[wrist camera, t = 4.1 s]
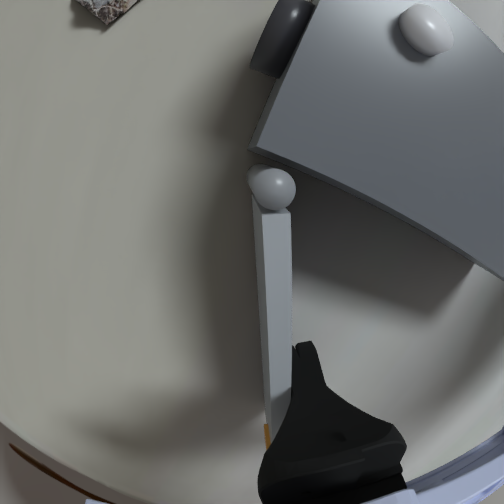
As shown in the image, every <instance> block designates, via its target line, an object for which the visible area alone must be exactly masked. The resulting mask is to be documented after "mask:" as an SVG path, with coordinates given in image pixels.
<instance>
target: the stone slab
mask: <svg viewBox="0 0 504 504" xmlns="http://www.w3.org/2000/svg"><path fill="white" fill-rule="evenodd" d="M76 1H78V2H79V3H80V4H82V5H83V6H84V7H85V8H87V9H88V10H89V11H90V12H92V13H93V14H94V15H95V16H97V17H98V18H99V19H100V20H102V21H103V22H104V23H105V24H107V25H108V24H109V23H110V22H112V21H113V20H115V19H116V18H117V17H118V16H119V15H120V13H121V14H123V13H125V12H126V11H127V10H128V9H129V8H130V7H131V6H132V5H133V4H134V3H135V2H136V1H137V0H76Z"/></svg>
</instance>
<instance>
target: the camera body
mask: <svg viewBox="0 0 504 504" xmlns="http://www.w3.org/2000/svg"><path fill="white" fill-rule="evenodd" d="M250 68H251V69H254V70H256V71H259V72H262V73H264V74H267V75H270V76H272V77H275V78H277V79H276V82H275V84H274V86H273V89H272V91H271V93H270V96H269V98H268V100H267V103H266V105H265V107H264V110H263V112H262V114H261V117H260V119H259V122H258V124H257V127H256V129H255V131H254V134H253V136H252V139H251V141H250V144H249V146H248V149H247V150H249V151H252V152H255V153H257V154H260V155H262V156H265V157H267V158H270V159H272V160H275V161H277V162H280V163H282V164H285V165H287V166H290V167H292V168H294V169H297V170H299V171H301V172H304V173H306V174H308V175H311V176H313V177H315V178H317V179H320V180H322V181H324V182H326V183H328V184H331V185H333V186H335V187H337V188H339V189H341V190H344V191H346V192H348V193H350V194H352V195H354V196H356V197H358V198H360V199H362V200H364V201H366V202H368V203H370V204H372V205H374V206H376V207H378V208H380V209H382V210H384V211H386V212H388V213H390V214H391V215H393V216H395V217H397V218H399V219H401V220H403V221H405V222H406V223H408V224H410V225H412V226H414V227H415V228H417V229H419V230H421V231H422V232H424V233H426V234H428V235H429V236H431V237H433V238H435V239H436V240H438V241H440V242H441V243H443V244H445V245H446V246H448V247H450V248H451V249H453V250H455V251H456V252H458V253H459V254H461V255H463V256H464V257H466V258H467V259H469V260H470V261H472V262H473V263H475V264H477V265H478V266H480V267H482V268H483V269H485V270H487V271H488V272H490V273H492V274H493V275H495V276H496V277H498V278H500V279H501V280H503V281H504V53H503V52H502V51H501V50H500V49H499V48H498V47H497V46H496V44H495V43H494V42H493V41H492V40H491V39H490V38H489V37H488V36H487V35H486V34H485V33H484V32H483V31H482V30H481V29H480V28H479V27H478V26H477V25H476V24H475V23H474V22H473V21H472V20H471V19H469V18H468V17H467V16H466V15H465V14H464V13H463V12H462V11H461V10H459V9H458V8H457V7H456V6H455V5H454V4H452V3H451V2H450V1H449V0H313V1H312V3H310V2H308V1H305V0H279V1H278V2H277V4H276V6H275V8H274V10H273V12H272V14H271V16H270V18H269V20H268V22H267V24H266V26H265V28H264V30H263V33H262V35H261V37H260V40H259V42H258V44H257V47H256V49H255V52H254V55H253V58H252V61H251V64H250Z"/></svg>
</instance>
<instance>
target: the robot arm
mask: <svg viewBox="0 0 504 504" xmlns="http://www.w3.org/2000/svg"><path fill="white" fill-rule="evenodd" d="M295 348H296V349H295ZM295 348H294V346H293V345H292V373H291V401H290V404H289V407H288V410H287V412H286V415H285V418H284V420H283V422H282V424H281V426H280V428H279V430H278V432H277V434H276V436H275V438H274V440H273V441H272V443H271V445H270V446H269V448H268V449H267V451H266V452H265V454H264V457H263V460H262V463H261V467H260V470H259V474H258V493H259V497H260V499H261V501H262V504H478V503H479V502H481V501H482V500H484V499H485V498H486V497H487V496H489V495H490V494H492V493H493V492H494V491H496V490H497V489H498V488H500V487H501V486H502V485H504V426H503V428H502V430H500V431H499V432H498V433H496V434H495V435H493V436H492V437H490V438H489V439H487V440H486V441H484V442H483V443H481V444H480V445H478V446H476V447H475V448H473V449H471V450H470V451H468V452H466V453H465V454H463V455H461V456H459V457H458V458H456V459H454V460H452V461H450V462H449V463H447V464H445V465H443V466H441V467H439V468H437V469H435V470H433V471H431V472H429V473H427V474H424V475H422V476H420V477H418V478H415V479H413V480H411V481H408V482H406V483H405V481H404V478H403V476H402V474H401V473H402V472H403V469H402V467H401V464H400V461H401V459H402V457H403V455H404V453H405V451H406V448H407V445H406V443H405V441H404V439H403V437H402V435H401V434H400V433H399V431H398V430H397V429H396V427H395V426H394V425H393V424H391V423H388V422H385V421H383V420H380V419H378V418H375V417H373V416H371V415H369V414H367V413H365V412H363V411H361V410H360V409H358V408H356V407H355V406H353V405H351V404H350V403H348V402H347V401H345V400H344V399H342V398H341V397H340V396H338V395H337V394H336V393H334V392H333V391H332V390H331V389H330V388H328V387H327V386H326V383H325V380H324V376H323V373H322V369H321V365H320V361H319V358H318V354H317V351H316V348H315V346H314V345H313V343H312V341H307V342H302V343H297V345H296V346H295ZM85 504H108V503H104V502H100V501H95V500H91V499H86V502H85Z"/></svg>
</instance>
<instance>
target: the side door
mask: <svg viewBox="0 0 504 504" xmlns="http://www.w3.org/2000/svg"><path fill="white" fill-rule="evenodd" d="M246 177H247V182H248V184H249V186H250V188H251V190H252V192H253V193H252V208H253V223H254V239H255V254H256V270H257V286H258V302H259V318H260V335H261V351H262V368H263V385H264V401H265V413H266V421H267V424H264V433H265V443H266V451H267V449H268V448H269V446H270V445H271V443H272V441H273V440H274V438H275V436H276V434H277V432H278V430H279V428H280V426H281V424H282V422H283V420H284V418H285V415H286V412H287V410H288V407H289V404H290V401H291V373H292V249H291V213H290V212H289V211H288V210H287V209H286V208H285V207H287V206H288V205H289V204H290V203H291V202H292V200H293V199H294V196H295V192H296V187H295V183H294V180H293V178H292V177H291V176H290V175H289V174H288V173H287V172H285V171H283V170H280V169H277V168H274V167H271V166H268V165H264V164H256V165H253V166H252V167H251V168H250V169H249V170H248V172H247V176H246Z"/></svg>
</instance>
